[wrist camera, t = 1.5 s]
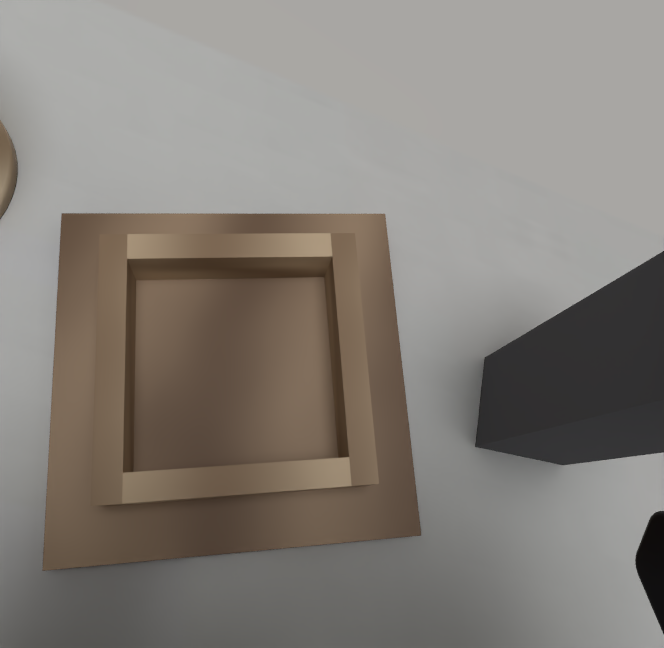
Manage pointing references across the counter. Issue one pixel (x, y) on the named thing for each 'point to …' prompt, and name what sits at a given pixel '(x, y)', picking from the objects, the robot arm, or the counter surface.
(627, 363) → the grey square peg
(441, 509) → the counter surface
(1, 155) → the bobbin
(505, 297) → the counter surface
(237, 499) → the square recessed board
